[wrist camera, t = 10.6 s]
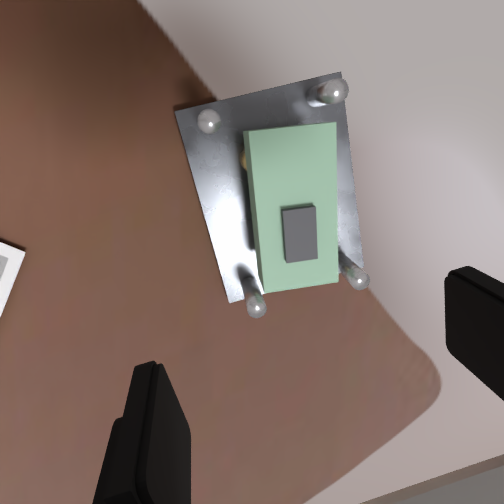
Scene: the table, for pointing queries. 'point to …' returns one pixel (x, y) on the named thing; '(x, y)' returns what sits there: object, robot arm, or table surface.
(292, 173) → the green block
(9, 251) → the touchpad
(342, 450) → the table surface
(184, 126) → the chassis
